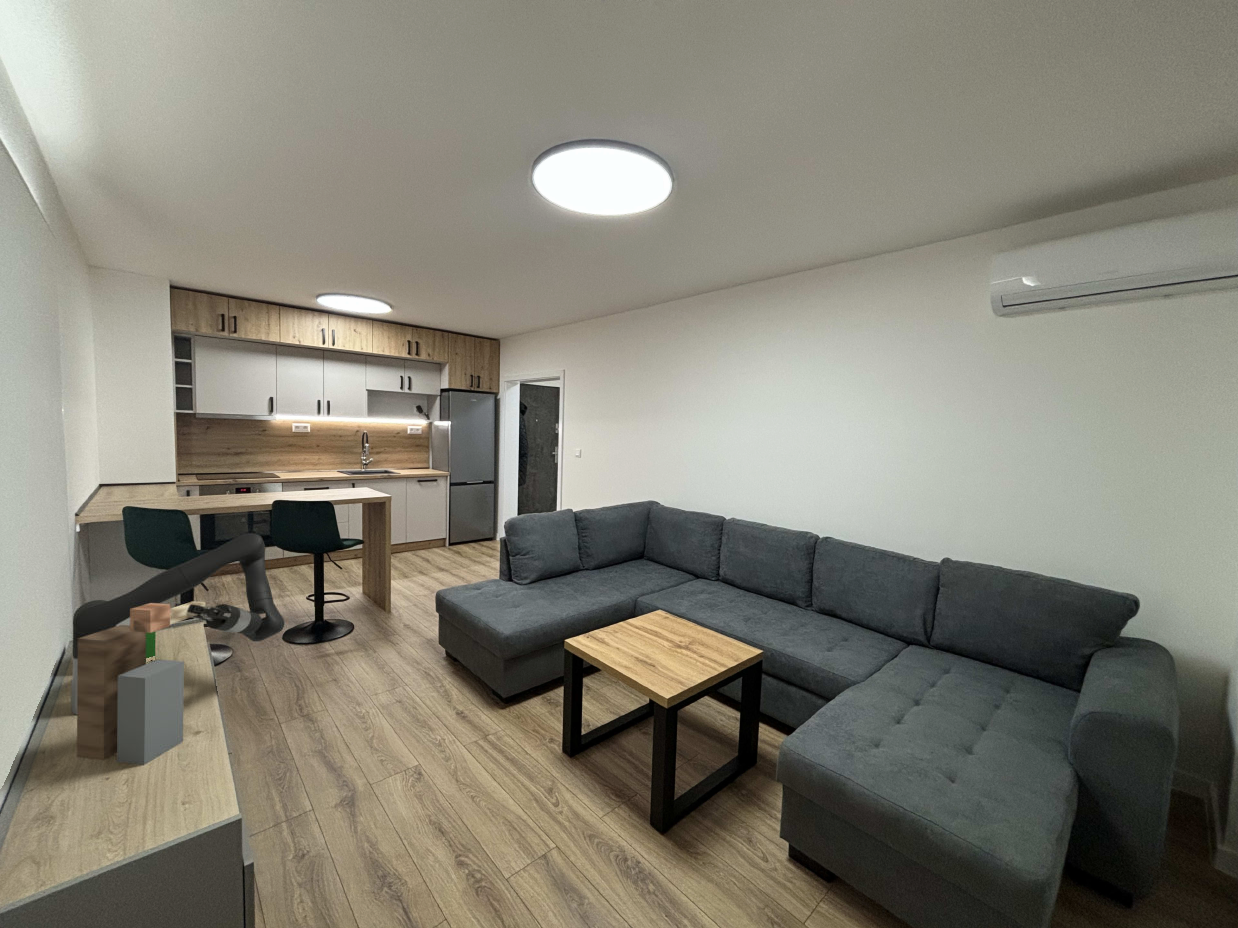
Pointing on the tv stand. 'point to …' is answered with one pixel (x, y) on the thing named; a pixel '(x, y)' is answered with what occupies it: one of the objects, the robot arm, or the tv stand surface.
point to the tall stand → (103, 686)
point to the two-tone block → (158, 616)
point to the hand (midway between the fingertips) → (182, 607)
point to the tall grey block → (150, 711)
